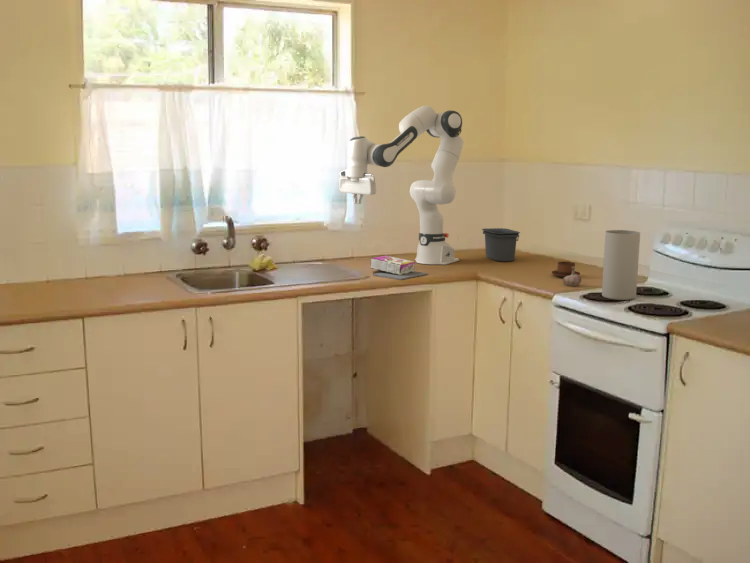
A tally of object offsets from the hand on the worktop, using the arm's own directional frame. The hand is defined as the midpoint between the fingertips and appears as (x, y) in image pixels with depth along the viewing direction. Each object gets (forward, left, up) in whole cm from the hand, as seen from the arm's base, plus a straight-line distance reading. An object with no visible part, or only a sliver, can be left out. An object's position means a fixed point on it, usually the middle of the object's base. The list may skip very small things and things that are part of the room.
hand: (357, 203), depth 369 cm
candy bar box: (+2, +14, -25) cm, 29 cm away
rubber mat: (+2, +28, -29) cm, 40 cm away
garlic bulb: (-29, +94, -29) cm, 103 cm away
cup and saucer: (-46, +81, -30) cm, 98 cm away
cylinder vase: (-20, +119, -29) cm, 124 cm away
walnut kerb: (+2, +19, -29) cm, 35 cm away
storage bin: (-67, +34, -29) cm, 81 cm away
